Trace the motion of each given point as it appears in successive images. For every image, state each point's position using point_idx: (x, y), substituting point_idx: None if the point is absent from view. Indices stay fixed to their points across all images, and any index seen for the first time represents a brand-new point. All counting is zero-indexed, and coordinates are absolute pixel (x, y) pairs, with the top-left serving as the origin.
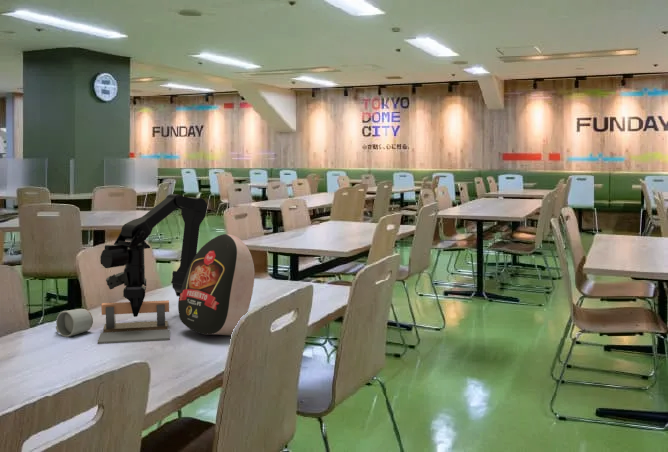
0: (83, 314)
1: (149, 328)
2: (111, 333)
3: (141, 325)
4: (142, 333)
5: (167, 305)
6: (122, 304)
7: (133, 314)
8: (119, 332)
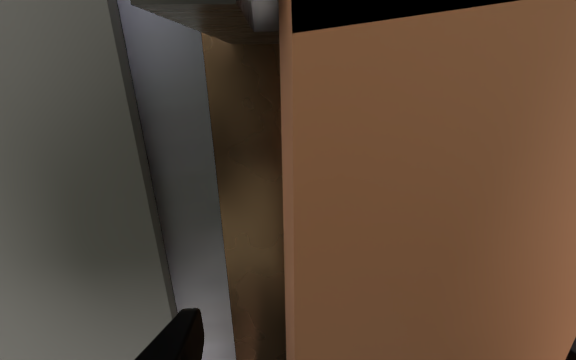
0: None
1: (233, 318)
2: (60, 26)
3: None
4: (77, 288)
5: None
6: (294, 293)
7: (160, 332)
8: (105, 108)
